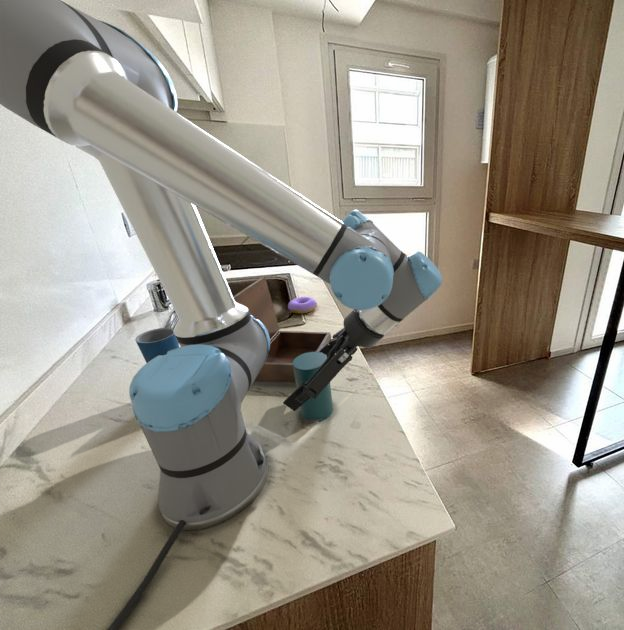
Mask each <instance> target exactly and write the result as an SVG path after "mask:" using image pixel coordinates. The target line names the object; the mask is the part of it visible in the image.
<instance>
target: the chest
mask: <svg viewBox="0 0 624 630" xmlns="http://www.w3.org/2000/svg"><path fill="white" fill-rule="evenodd" d="M331 339H332V334H331V332H327V331H325V332H324V331H295V330H293V331H292V330H291V331H289V330H279V331H278V332H277V333H276V334H275V335H274V336H273V337H272V338H271V339H270V349H269V353H268V356H267V360H266V362H265V364H264V365H263V367H262V368H261V370H260V372H259V373H258V375H257V377H256V378H255V380H254V382H255V383H256V382H258V383H291V384H296V381H295V375H294V369H293V360H294V359H295V358H296V357H298V356H299V355H301V354H304V353H308V352H319V351H320V350H321V349H322V348H323V347H324V346H325V345H326V344H328V345H329V341H330V340H331Z"/></svg>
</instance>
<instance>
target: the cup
mask: <svg viewBox="0 0 624 630" xmlns="http://www.w3.org/2000/svg"><path fill="white" fill-rule="evenodd" d="M173 331H174V328H172V327H159V328H153V329H150V330H147V331H145V332H142V333H140V334H139V335H137V336H136V337H135V338H134V339H135V343H136V344H137V346H138V349H139V350H140V352H141V355H142V356H143V358H144V362H145V364H146V363H148V362H149V361H151V360H152V359H154V358H155V357H157V356H159V355H162V356H163V355H166V354H167V352H168V351H170V350H173V349H176V348H179V347H180V344H179V342H178V340H177V338H176V336H175V334H174V332H173Z"/></svg>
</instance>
